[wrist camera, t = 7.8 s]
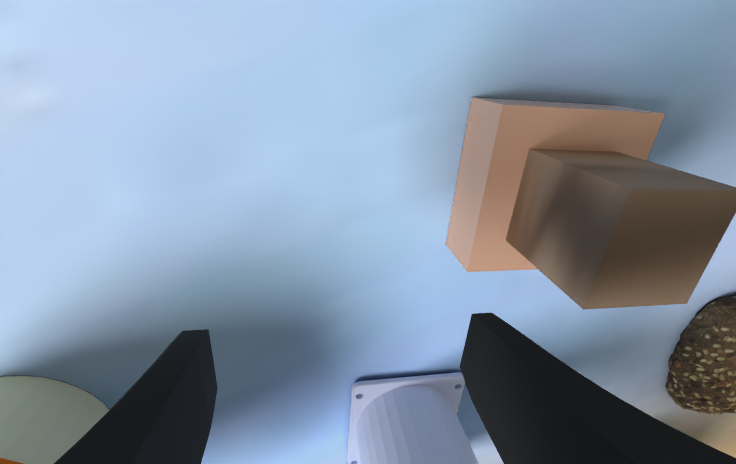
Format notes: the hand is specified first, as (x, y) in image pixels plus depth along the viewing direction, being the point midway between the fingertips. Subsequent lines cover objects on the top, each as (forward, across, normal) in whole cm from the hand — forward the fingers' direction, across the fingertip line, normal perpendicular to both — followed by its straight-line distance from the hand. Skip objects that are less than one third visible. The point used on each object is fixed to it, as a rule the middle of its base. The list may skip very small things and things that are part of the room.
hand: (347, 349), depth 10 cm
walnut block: (+7, -11, -2) cm, 13 cm away
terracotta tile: (+10, -11, -2) cm, 15 cm away
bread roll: (+10, -34, +12) cm, 37 cm away
